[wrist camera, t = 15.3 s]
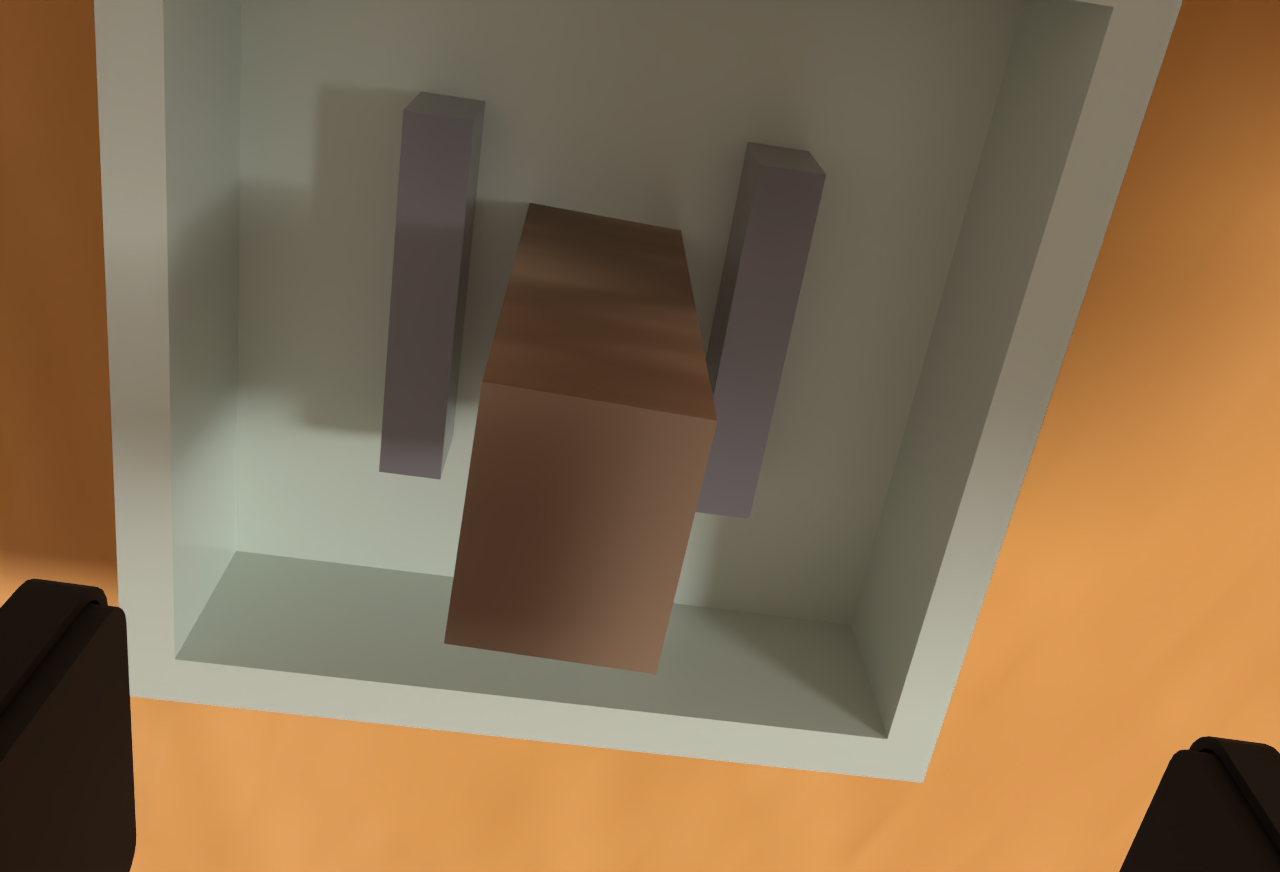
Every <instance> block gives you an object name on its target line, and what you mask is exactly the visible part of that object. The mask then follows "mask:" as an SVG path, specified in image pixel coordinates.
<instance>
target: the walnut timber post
mask: <svg viewBox="0 0 1280 872" xmlns="http://www.w3.org/2000/svg"><path fill="white" fill-rule="evenodd" d="M716 425H717V416H716V411H715V406H714V400H713V395H712V390H711V385H710V380H709V374H708V369H707V364H706V359H705V353H704V348H703V343H702V338H701V333H700V327H699V322H698V317H697V312H696V307H695V301H694V296H693V291H692V286H691V281H690V275H689V270H688V265H687V260H686V255H685V249H684V244H683V239H682V234H681V230H676V229H671V228H665V227H660V226H654V225H649V224H643V223H638V222H632V221H627V220H622V219H616V218H611V217H605V216H600V215H594V214H589V213H583V212H578V211H573V210H567V209H562V208H556V207H551V206H545V205H540V204H535V203H529V207H528V211H527V215H526V218H525V222H524V226H523V230H522V233H521V237H520V241H519V245H518V248H517V252H516V256H515V260H514V263H513V267H512V271H511V275H510V278H509V282H508V286H507V290H506V293H505V297H504V301H503V305H502V308H501V312H500V316H499V320H498V323H497V327H496V331H495V335H494V338H493V342H492V346H491V350H490V353H489V357H488V361H487V365H486V368H485V372H484V376H483V380H482V385H481V392H480V399H479V406H478V413H477V420H476V426H475V433H474V440H473V447H472V454H471V461H470V468H469V474H468V481H467V488H466V495H465V502H464V509H463V516H462V523H461V529H460V536H459V543H458V550H457V557H456V564H455V571H454V577H453V584H452V591H451V598H450V605H449V612H448V619H447V625H446V632H445V639H444V644H450V645H457V646H464V647H471V648H478V649H485V650H491V651H498V652H505V653H512V654H519V655H526V656H533V657H540V658H547V659H553V660H560V661H567V662H574V663H581V664H588V665H595V666H602V667H609V668H616V669H622V670H629V671H636V672H643V673H650V674H656V673H657V668H658V664H659V660H660V656H661V652H662V648H663V644H664V639H665V635H666V631H667V627H668V623H669V619H670V615H671V611H672V606H673V602H674V598H675V594H676V590H677V586H678V582H679V578H680V573H681V569H682V565H683V561H684V557H685V553H686V549H687V545H688V540H689V536H690V532H691V528H692V524H693V520H694V516H695V512H696V507H697V503H698V499H699V495H700V491H701V487H702V483H703V478H704V474H705V470H706V466H707V462H708V458H709V454H710V450H711V445H712V441H713V437H714V433H715V429H716Z"/></svg>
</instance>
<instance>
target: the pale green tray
mask: <svg viewBox="0 0 1280 872" xmlns="http://www.w3.org/2000/svg"><path fill="white" fill-rule="evenodd" d="M1182 2H1183V0H94V17H95V41H96V65H97V89H98V113H99V138H100V162H101V186H102V210H103V234H104V259H105V283H106V307H107V331H108V355H109V379H110V404H111V428H112V452H113V476H114V500H115V524H116V549H117V573H118V597H119V608H121V609H123V611H124V613H125V616H126V623H127V644H128V666H129V689H130V696H132V697H141V698H150V699H159V700H169V701H178V702H187V703H196V704H205V705H214V706H223V707H233V708H242V709H251V710H260V711H269V712H278V713H288V714H297V715H306V716H315V717H324V718H333V719H343V720H352V721H361V722H370V723H379V724H388V725H398V726H407V727H416V728H425V729H434V730H443V731H453V732H462V733H471V734H480V735H489V736H498V737H508V738H517V739H526V740H535V741H544V742H553V743H563V744H572V745H581V746H590V747H599V748H608V749H618V750H627V751H636V752H645V753H654V754H663V755H673V756H682V757H691V758H700V759H709V760H718V761H728V762H737V763H746V764H755V765H764V766H773V767H783V768H792V769H801V770H810V771H819V772H828V773H838V774H847V775H856V776H865V777H874V778H883V779H893V780H902V781H911V782H920V783H923V781H924V778H925V775H926V772H927V769H928V766H929V763H930V760H931V757H932V754H933V751H934V748H935V745H936V742H937V739H938V736H939V733H940V730H941V727H942V724H943V721H944V718H945V715H946V712H947V709H948V706H949V703H950V700H951V697H952V694H953V691H954V688H955V685H956V682H957V679H958V676H959V672H960V669H961V666H962V663H963V660H964V657H965V654H966V651H967V648H968V645H969V642H970V639H971V636H972V633H973V630H974V627H975V624H976V621H977V618H978V615H979V612H980V609H981V606H982V603H983V600H984V597H985V594H986V591H987V588H988V585H989V582H990V579H991V576H992V573H993V570H994V567H995V564H996V561H997V558H998V555H999V552H1000V549H1001V546H1002V543H1003V540H1004V537H1005V534H1006V531H1007V528H1008V525H1009V522H1010V519H1011V516H1012V513H1013V510H1014V507H1015V504H1016V501H1017V498H1018V495H1019V492H1020V489H1021V486H1022V483H1023V480H1024V477H1025V474H1026V471H1027V468H1028V465H1029V462H1030V459H1031V456H1032V453H1033V450H1034V447H1035V444H1036V441H1037V438H1038V435H1039V432H1040V429H1041V426H1042V423H1043V420H1044V417H1045V414H1046V411H1047V408H1048V405H1049V402H1050V399H1051V396H1052V393H1053V390H1054V387H1055V384H1056V381H1057V378H1058V375H1059V372H1060V369H1061V366H1062V363H1063V360H1064V357H1065V354H1066V351H1067V348H1068V345H1069V342H1070V339H1071V336H1072V332H1073V329H1074V326H1075V323H1076V320H1077V317H1078V314H1079V311H1080V308H1081V305H1082V302H1083V299H1084V296H1085V293H1086V290H1087V287H1088V284H1089V281H1090V278H1091V275H1092V272H1093V269H1094V266H1095V263H1096V260H1097V257H1098V254H1099V251H1100V248H1101V245H1102V242H1103V239H1104V236H1105V233H1106V230H1107V227H1108V224H1109V221H1110V218H1111V215H1112V212H1113V209H1114V206H1115V203H1116V200H1117V197H1118V194H1119V191H1120V188H1121V185H1122V182H1123V179H1124V176H1125V173H1126V170H1127V167H1128V164H1129V161H1130V158H1131V155H1132V152H1133V149H1134V146H1135V143H1136V140H1137V137H1138V134H1139V131H1140V128H1141V125H1142V122H1143V119H1144V116H1145V113H1146V110H1147V107H1148V104H1149V101H1150V98H1151V95H1152V92H1153V89H1154V86H1155V83H1156V80H1157V77H1158V74H1159V71H1160V68H1161V65H1162V62H1163V59H1164V56H1165V53H1166V50H1167V47H1168V44H1169V41H1170V38H1171V35H1172V32H1173V29H1174V26H1175V23H1176V20H1177V17H1178V14H1179V11H1180V8H1181V5H1182ZM529 203H535V204H540V205H545V206H551V207H556V208H562V209H567V210H573V211H578V212H583V213H589V214H594V215H600V216H605V217H611V218H616V219H622V220H627V221H632V222H638V223H643V224H649V225H654V226H660V227H665V228H671V229H676V230H681V234H682V239H683V244H684V249H685V255H686V260H687V265H688V270H689V275H690V281H691V286H692V291H693V296H694V301H695V307H696V312H697V317H698V322H699V327H700V333H701V338H702V343H703V348H704V353H705V359H706V364H707V369H708V374H709V380H710V385H711V390H712V395H713V400H714V406H715V411H716V416H717V425H716V429H715V433H714V437H713V441H712V445H711V450H710V454H709V458H708V462H707V466H706V470H705V474H704V478H703V483H702V487H701V491H700V495H699V499H698V503H697V507H696V512H695V516H694V520H693V524H692V528H691V532H690V536H689V540H688V545H687V549H686V553H685V557H684V561H683V565H682V569H681V573H680V578H679V582H678V586H677V590H676V594H675V598H674V602H673V606H672V611H671V615H670V619H669V623H668V627H667V631H666V635H665V639H664V644H663V648H662V652H661V656H660V660H659V664H658V668H657V673H656V674H650V673H643V672H636V671H629V670H622V669H616V668H609V667H602V666H595V665H588V664H581V663H574V662H567V661H560V660H553V659H547V658H540V657H533V656H526V655H519V654H512V653H505V652H498V651H491V650H485V649H478V648H471V647H464V646H457V645H450V644H444V639H445V632H446V625H447V619H448V612H449V605H450V598H451V591H452V584H453V577H454V571H455V564H456V557H457V550H458V543H459V536H460V529H461V523H462V516H463V509H464V502H465V495H466V488H467V481H468V474H469V468H470V461H471V454H472V447H473V440H474V433H475V426H476V420H477V413H478V406H479V399H480V392H481V385H482V380H483V376H484V372H485V368H486V365H487V361H488V357H489V353H490V350H491V346H492V342H493V338H494V335H495V331H496V327H497V323H498V320H499V316H500V312H501V308H502V305H503V301H504V297H505V293H506V290H507V286H508V282H509V278H510V275H511V271H512V267H513V263H514V260H515V256H516V252H517V248H518V245H519V241H520V237H521V233H522V230H523V226H524V222H525V218H526V215H527V211H528V207H529Z"/></svg>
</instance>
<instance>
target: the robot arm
mask: <svg viewBox="0 0 1280 872" xmlns="http://www.w3.org/2000/svg"><path fill="white" fill-rule="evenodd" d="M135 846H136V821H135V799H134V777H133V755H132V733H131V711H130V689H129V666H128V644H127V623H126V616H125V613H124V611H123V609H121V608H119V607H113V606H108V604H107V598H106V596H105V594H104V591H103V590H102V589H100V588H98V587H93V586H85V585H78V584H71V583H63V582H56V581H48V580H41V579H31V580H27V581H26V582H25V583H23V584H22V585H21V586H20V587H19V588H18V589H17V590H16V591H15V592H14V593H13V594H12V596H11V597H10V598H9V599H8V600H7V601H6V602H5V603H4V605H3V606H2V607H1V608H0V872H129V871H130V868H131V865H132V861H133V857H134V853H135ZM1119 872H1280V753H1279V752H1278V751H1277V750H1276V749H1275V748H1273V747H1271V746H1269V745H1266V744H1262V743H1254V742H1247V741H1239V740H1232V739H1224V738H1217V737H1210V736H1208V737H1200V738H1199V739H1198V740H1196V741H1195V742H1194V743H1193V744H1192V745H1191V747H1190V749H1189V750H1179V751H1178V752H1177V753H1175V754H1174V755H1173V757H1172V759H1171V760H1170V762H1169V764H1168V766H1167V768H1166V771H1165V773H1164V775H1163V777H1162V779H1161V782H1160V784H1159V786H1158V788H1157V790H1156V793H1155V795H1154V797H1153V799H1152V801H1151V804H1150V806H1149V808H1148V810H1147V812H1146V814H1145V817H1144V819H1143V821H1142V823H1141V825H1140V828H1139V830H1138V832H1137V834H1136V836H1135V839H1134V841H1133V843H1132V845H1131V847H1130V850H1129V852H1128V854H1127V856H1126V858H1125V860H1124V863H1123V865H1122V867H1121V869H1120V871H1119Z"/></svg>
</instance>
